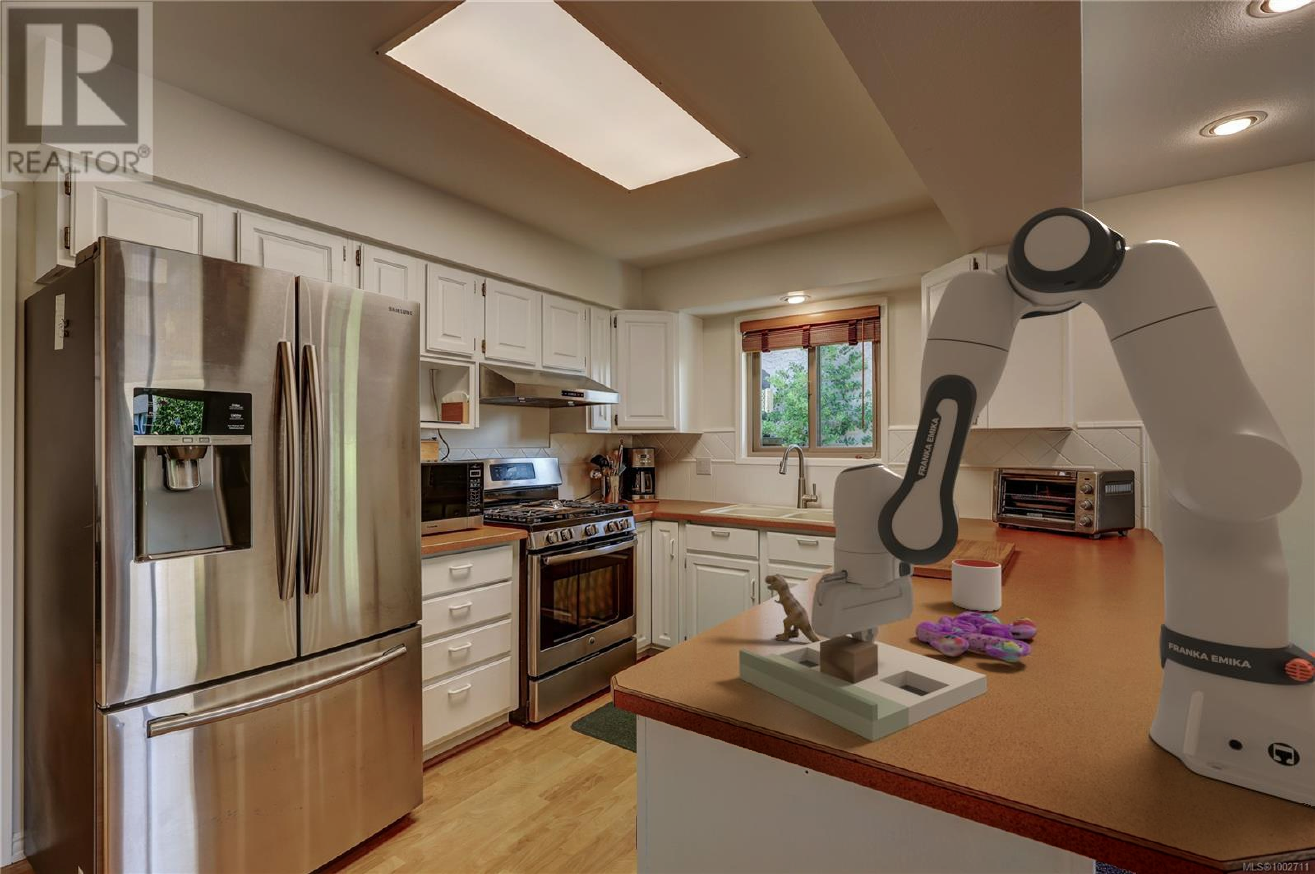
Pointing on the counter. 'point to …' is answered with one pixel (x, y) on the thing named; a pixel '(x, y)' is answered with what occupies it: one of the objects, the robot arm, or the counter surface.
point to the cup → (976, 584)
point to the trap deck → (864, 687)
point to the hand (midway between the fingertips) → (864, 655)
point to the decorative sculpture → (979, 635)
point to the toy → (790, 610)
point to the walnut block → (849, 659)
